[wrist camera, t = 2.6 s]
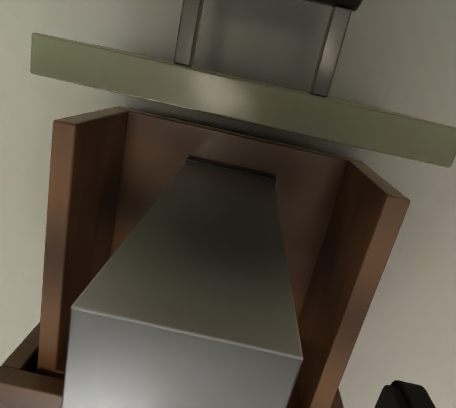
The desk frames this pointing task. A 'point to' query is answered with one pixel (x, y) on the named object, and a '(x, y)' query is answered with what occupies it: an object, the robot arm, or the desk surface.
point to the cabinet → (41, 380)
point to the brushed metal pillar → (191, 303)
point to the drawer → (235, 155)
